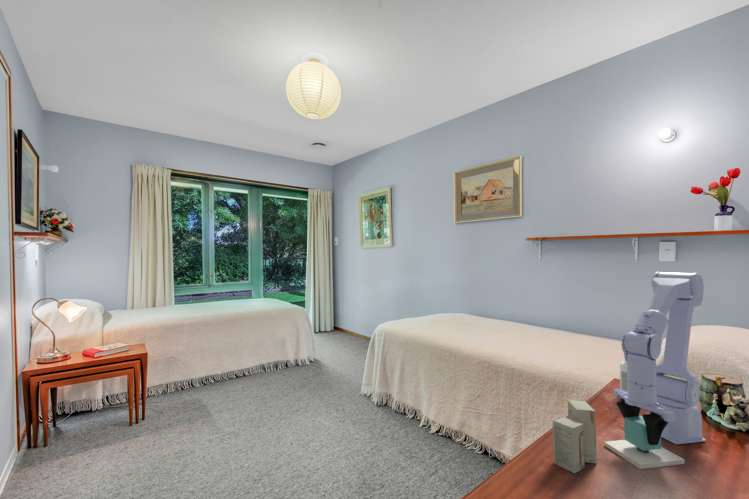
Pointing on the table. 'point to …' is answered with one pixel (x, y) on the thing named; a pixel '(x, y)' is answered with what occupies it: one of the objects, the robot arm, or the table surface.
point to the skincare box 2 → (585, 427)
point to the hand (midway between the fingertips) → (642, 438)
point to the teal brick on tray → (638, 433)
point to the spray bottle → (623, 376)
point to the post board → (644, 455)
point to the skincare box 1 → (568, 444)
